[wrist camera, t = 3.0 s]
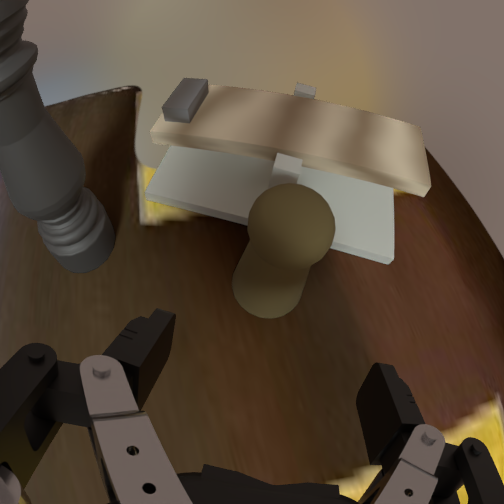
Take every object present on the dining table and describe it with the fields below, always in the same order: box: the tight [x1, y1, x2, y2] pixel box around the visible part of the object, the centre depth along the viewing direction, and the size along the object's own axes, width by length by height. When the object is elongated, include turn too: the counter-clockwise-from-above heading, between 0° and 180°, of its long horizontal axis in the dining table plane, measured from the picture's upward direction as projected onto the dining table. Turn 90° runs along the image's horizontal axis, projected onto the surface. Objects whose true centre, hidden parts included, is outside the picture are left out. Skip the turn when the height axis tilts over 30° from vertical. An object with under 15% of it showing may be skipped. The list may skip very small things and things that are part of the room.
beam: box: [150, 78, 431, 197], centre depth 26 cm, size 24×8×4 cm, turn 76°
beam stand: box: [145, 83, 394, 264], centre depth 29 cm, size 24×14×8 cm, turn 76°
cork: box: [232, 183, 336, 318], centre depth 22 cm, size 6×6×11 cm
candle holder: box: [0, 0, 115, 273], centre depth 16 cm, size 6×6×25 cm
